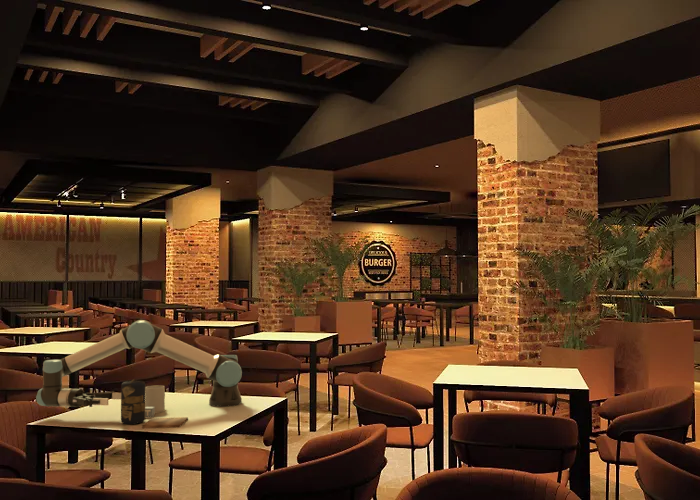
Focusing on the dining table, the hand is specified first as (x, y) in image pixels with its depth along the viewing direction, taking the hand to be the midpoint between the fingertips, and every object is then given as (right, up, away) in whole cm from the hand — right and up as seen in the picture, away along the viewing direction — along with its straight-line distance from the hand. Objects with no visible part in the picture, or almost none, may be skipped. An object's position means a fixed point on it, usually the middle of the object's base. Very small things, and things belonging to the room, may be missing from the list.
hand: (117, 399), depth 277 cm
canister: (+7, -10, -2) cm, 12 cm away
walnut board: (+21, -9, -4) cm, 23 cm away
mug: (+9, -11, +25) cm, 29 cm away
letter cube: (+10, -10, +11) cm, 18 cm away
